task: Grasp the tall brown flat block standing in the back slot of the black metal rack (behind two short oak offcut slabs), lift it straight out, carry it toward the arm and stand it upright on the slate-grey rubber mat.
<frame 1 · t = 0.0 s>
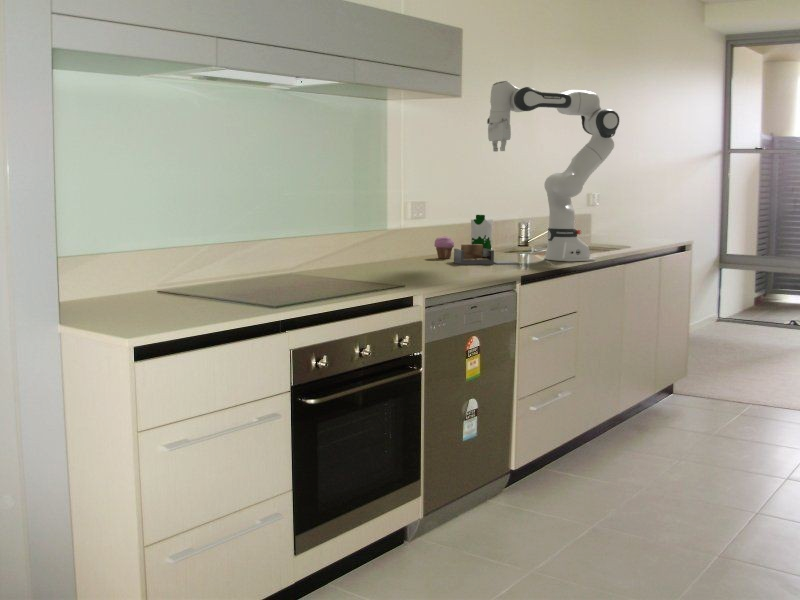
hand: (498, 151, 386), 48 cm above the counter, fingers open, 8 cm apart
cupcake: (443, 258, 398), on the counter
oak offcut b: (468, 264, 375), resting in rack
brown flat block: (471, 263, 380), resting in rack
milk carton: (480, 259, 397), on the counter
rack: (473, 263, 378), on the counter
oak offcut a: (481, 264, 376), resting in rack
grey mat: (504, 263, 380), on the counter
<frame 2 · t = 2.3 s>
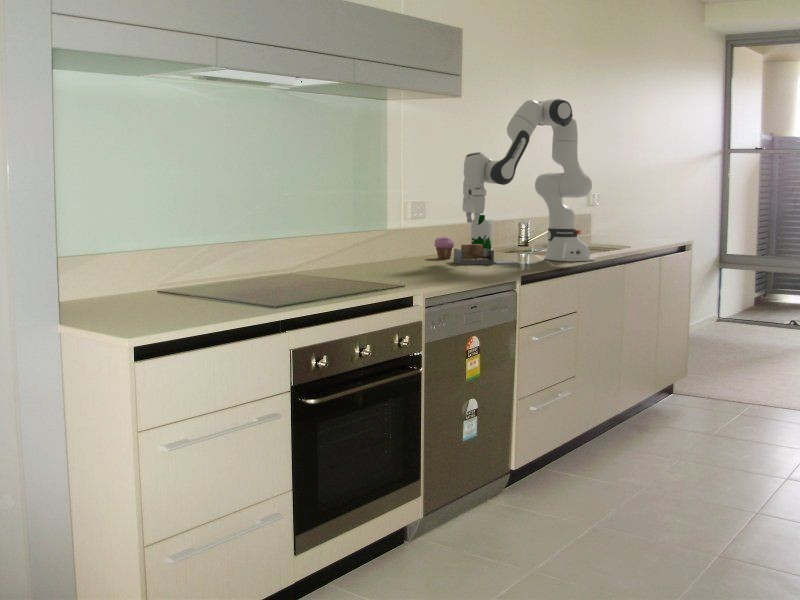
hand: (472, 223, 378), 17 cm above the counter, fingers open, 8 cm apart
nothing on the counter moved.
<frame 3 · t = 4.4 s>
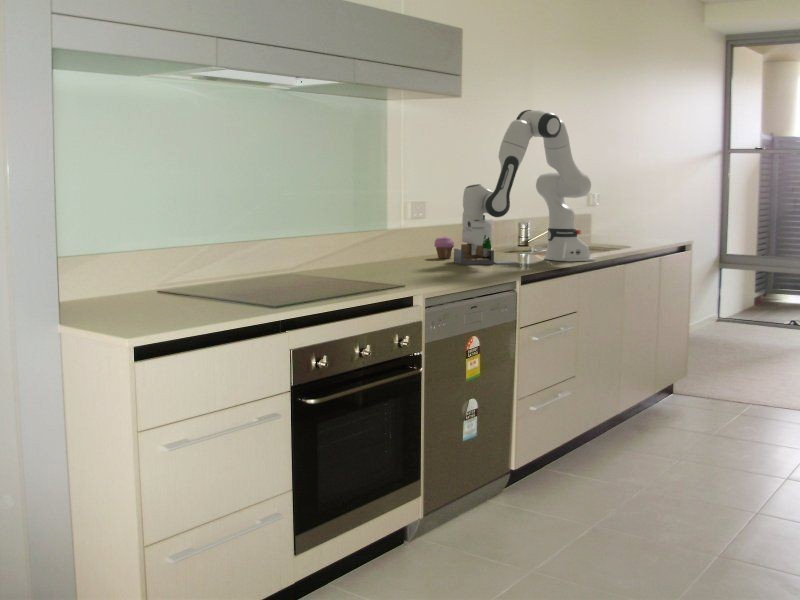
hand: (471, 254, 380), 4 cm above the counter, fingers closed on brown flat block, 2 cm apart
brown flat block: (471, 262, 380), resting in rack, touching gripper
everything else where it was.
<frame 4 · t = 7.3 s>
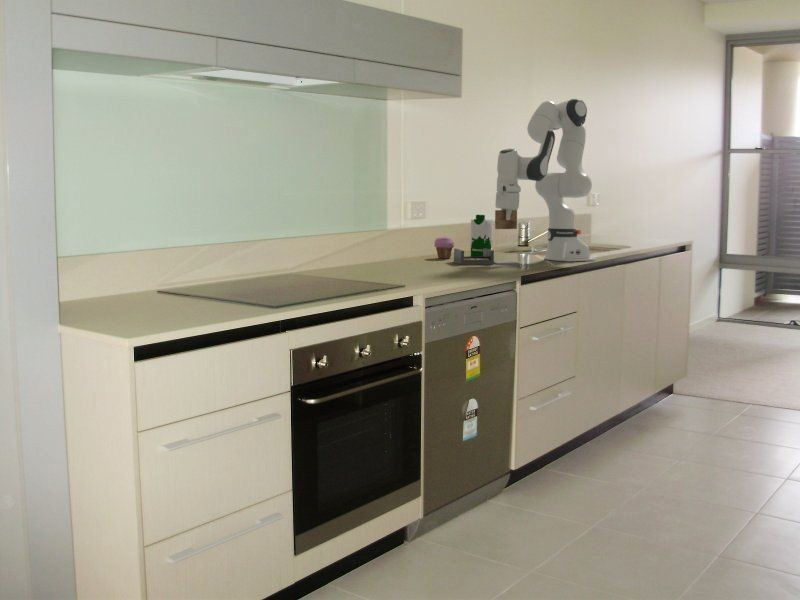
hand: (506, 219, 378), 19 cm above the counter, fingers closed on brown flat block, 2 cm apart
brown flat block: (505, 228, 378), point 15 cm above the counter, touching gripper
everything else where it was.
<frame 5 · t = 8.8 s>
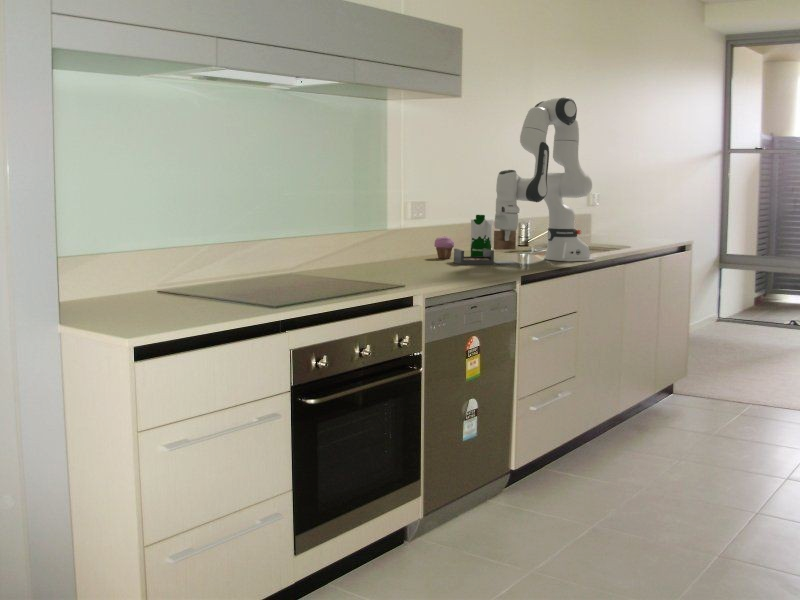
hand: (504, 240, 379), 10 cm above the counter, fingers closed on brown flat block, 2 cm apart
brown flat block: (504, 249, 379), point 6 cm above the counter, touching gripper
everything else where it was.
when the fingers open (5 cm above the counter, at t = 10.0 s): brown flat block stays where it is, resting on grey mat.
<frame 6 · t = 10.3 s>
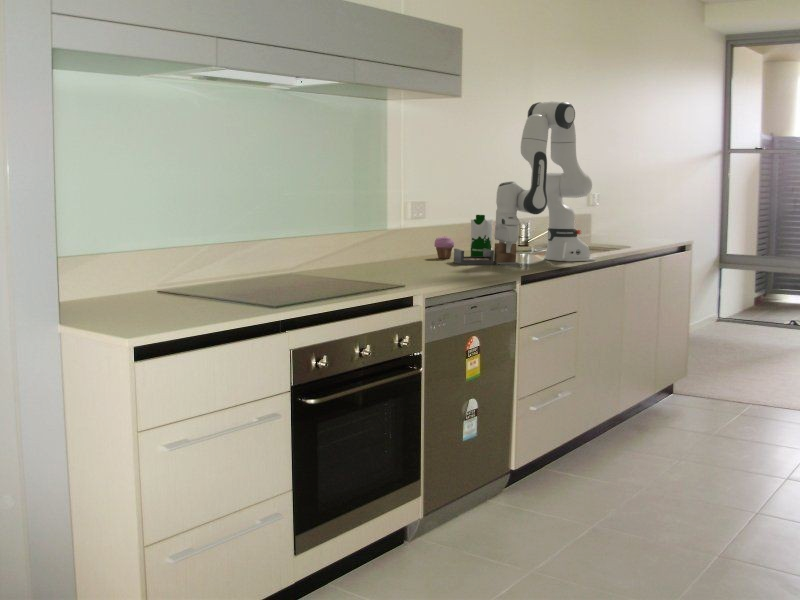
hand: (505, 252, 380), 5 cm above the counter, fingers open, 5 cm apart
brown flat block: (504, 261, 380), point 1 cm above the counter, touching grey mat
everything else where it was.
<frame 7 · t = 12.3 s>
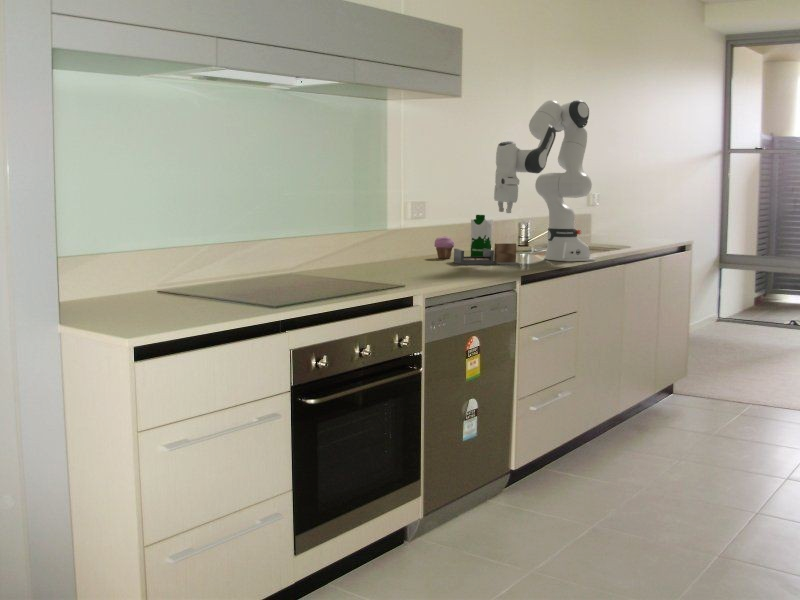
hand: (504, 212, 378), 22 cm above the counter, fingers open, 8 cm apart
nothing on the counter moved.
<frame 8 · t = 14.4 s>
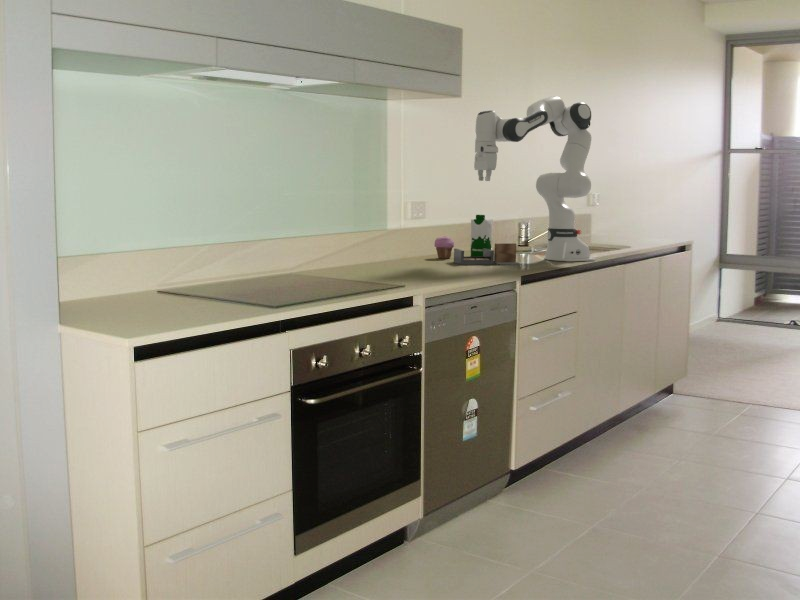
hand: (484, 180, 384), 35 cm above the counter, fingers open, 8 cm apart
nothing on the counter moved.
at the end: brown flat block inside the target area on the grey mat (0.1 cm from its centre), point 0.6 cm above the grey mat's base; brown flat block tilted 0°; the gripper is holding nothing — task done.
